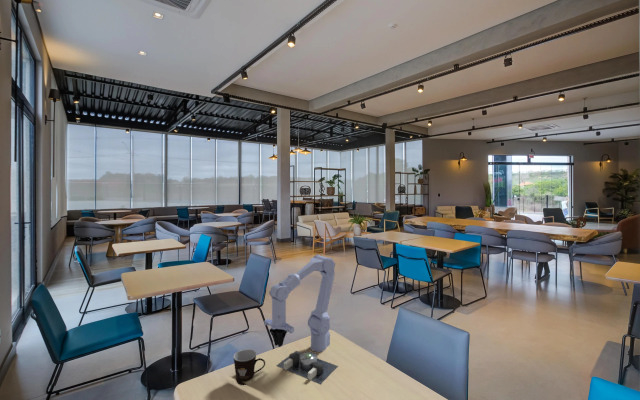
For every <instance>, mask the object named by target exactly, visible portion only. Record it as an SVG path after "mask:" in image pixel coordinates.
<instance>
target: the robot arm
mask: <svg viewBox="0 0 640 400" xmlns="http://www.w3.org/2000/svg"><path fill="white" fill-rule="evenodd" d="M335 266H336V263H335V261H334V260H333V258H331V257H327V256H323V255H320V254H315V255H314V256H313V257H311V258H310V259H309V262H308V263H307V264H306V265H304V266H303V267H302V268H301V269H299V270H298V272H296V273H289V274H288V275H287V277H285V278H284V279H283V280H282V281H281V280H280V281H279V283H275V284H273V285H272V286H271V288H270V290H269V292H268V294H269V295H270V297H271V319H269V318H267V319H265V320H264V321H263V322H264V326H270V329H269V333H270V334H271V336H272V339H273V343H274V346H276V347H279V348H281V347H282V346H283V345H284V341H285V338H286V335H287V333H289V334H293V333H294V332H295V327H294V326H291V325H290V324H289V323H287V321H286V318H287V316H286V315H287V314H286V313H287V311H286V310H287V309H286V307H287V301H286V300H287V299H288V297H289V295H290V293H291V291H294V290H295V289H296V288H297V287H298V286H299V285H300V284H301V281H302V280H303V279H305V278H307V276H309V275H310V274H312V273H313V272H319V273H320V275H321V281H320V287H319V292H318V296H317V300H316V305H315V309H314V310H312V311H311V313H310V316H309V317H308V320H307V326H308V328H309V330H310V349H311V351H312V352H313V351H314V352H317V353H319V352H323V351H326V350H327V347H329V346H331V333H330V328H331V324H330V320H331V317H330V315H329V314H328V307H329V304H330V299H331V294H332V288H333V283H334V279H335V274H336V273H335V268H336V267H335Z"/></svg>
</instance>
